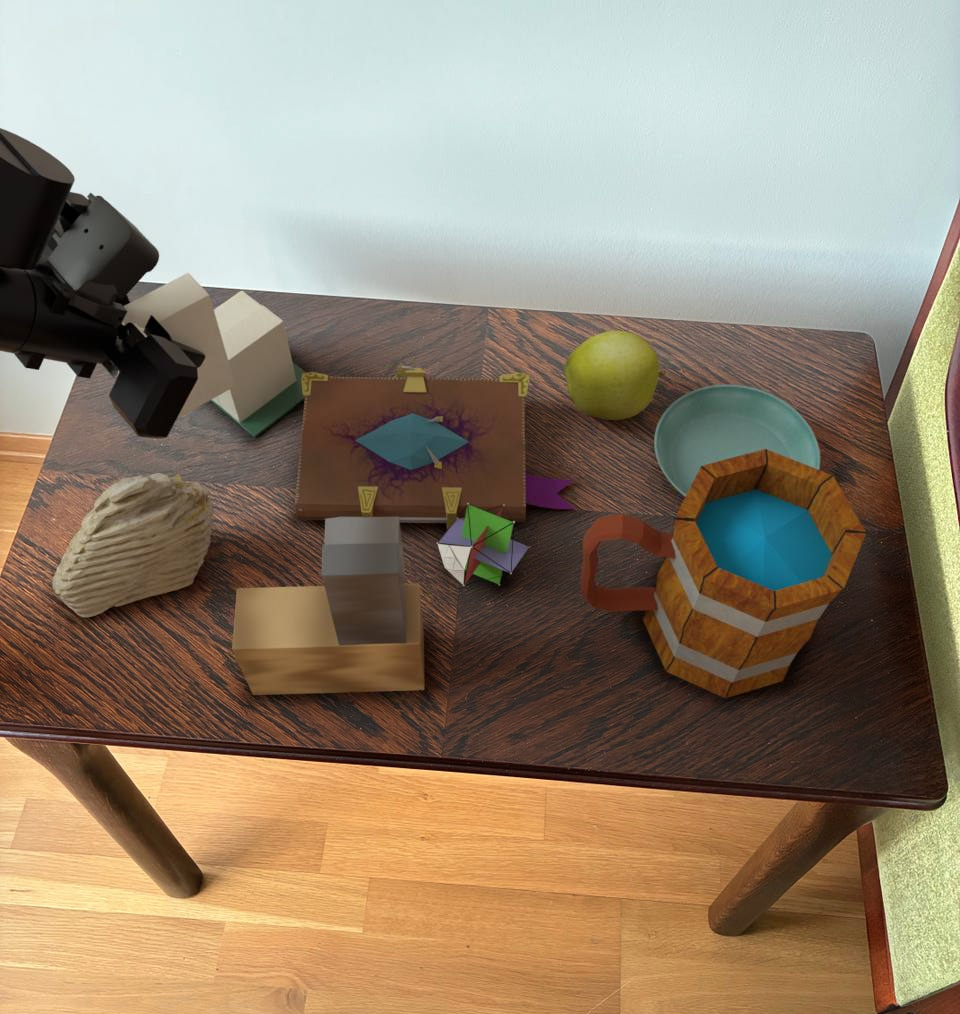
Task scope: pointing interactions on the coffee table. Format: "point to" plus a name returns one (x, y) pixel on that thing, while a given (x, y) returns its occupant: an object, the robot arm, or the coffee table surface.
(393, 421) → the book
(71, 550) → the fossil tooth
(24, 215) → the robot arm
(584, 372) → the apple
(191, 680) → the coffee table surface
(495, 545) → the geometric puzzle
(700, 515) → the mug
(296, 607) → the wood and grey block
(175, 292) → the cream rectangular block
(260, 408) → the cream and green block
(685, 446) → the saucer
